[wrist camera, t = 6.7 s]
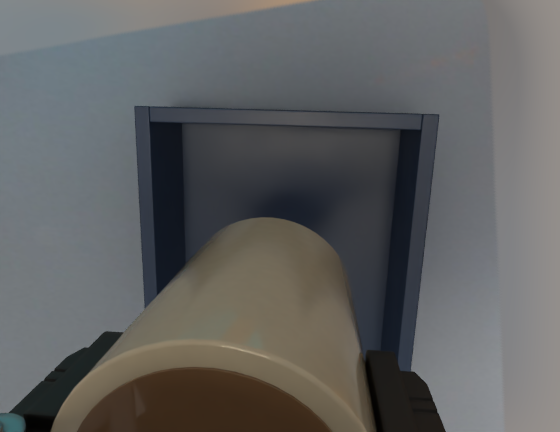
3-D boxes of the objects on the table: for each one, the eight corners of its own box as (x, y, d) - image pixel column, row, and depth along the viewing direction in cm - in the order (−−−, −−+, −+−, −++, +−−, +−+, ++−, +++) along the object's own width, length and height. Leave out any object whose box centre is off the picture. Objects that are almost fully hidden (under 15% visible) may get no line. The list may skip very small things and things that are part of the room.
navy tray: (171, 107, 28) (133, 105, 22) (414, 114, 26) (439, 114, 21) (182, 438, 34) (154, 503, 28) (380, 456, 32) (393, 528, 27)
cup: (258, 180, 16) (179, 265, 7) (388, 295, 16) (468, 508, 7) (154, 300, 17) (-20, 494, 8) (275, 401, 18) (232, 680, 9)
